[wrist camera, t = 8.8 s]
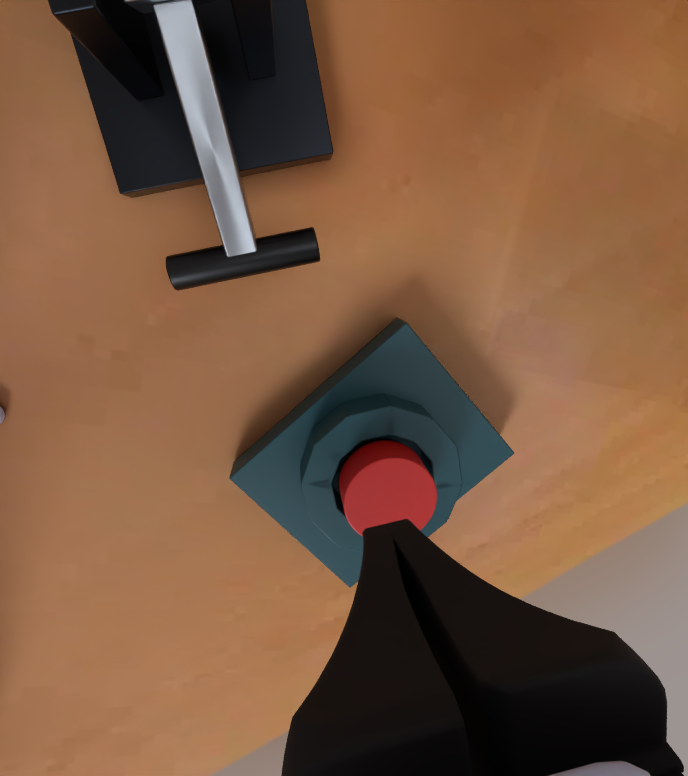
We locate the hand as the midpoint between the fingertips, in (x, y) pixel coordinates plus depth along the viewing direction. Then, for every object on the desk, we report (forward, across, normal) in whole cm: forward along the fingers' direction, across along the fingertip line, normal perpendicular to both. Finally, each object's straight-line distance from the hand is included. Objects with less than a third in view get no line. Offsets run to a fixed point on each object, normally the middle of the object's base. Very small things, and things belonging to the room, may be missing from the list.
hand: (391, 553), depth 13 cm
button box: (+9, -1, +1) cm, 9 cm away
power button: (+6, -1, +1) cm, 6 cm away
